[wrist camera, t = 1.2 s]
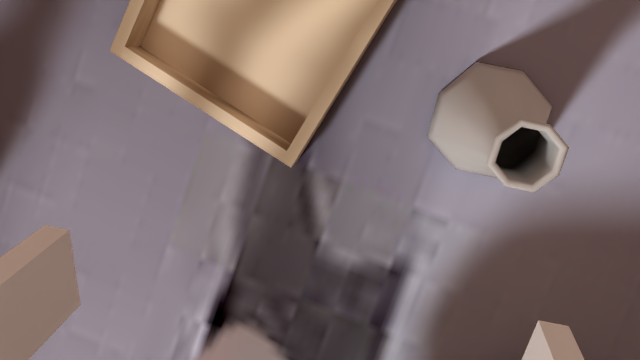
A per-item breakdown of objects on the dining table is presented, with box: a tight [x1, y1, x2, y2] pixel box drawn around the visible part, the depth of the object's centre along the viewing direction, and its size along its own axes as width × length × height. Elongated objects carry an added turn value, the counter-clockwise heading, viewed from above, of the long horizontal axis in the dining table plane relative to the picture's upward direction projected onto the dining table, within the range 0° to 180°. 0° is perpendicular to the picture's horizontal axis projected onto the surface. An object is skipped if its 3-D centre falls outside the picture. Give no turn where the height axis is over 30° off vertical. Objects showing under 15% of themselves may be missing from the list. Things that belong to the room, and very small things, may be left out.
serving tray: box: [110, 0, 397, 167], centre depth 29 cm, size 14×14×2 cm
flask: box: [428, 62, 569, 193], centre depth 25 cm, size 7×7×10 cm
